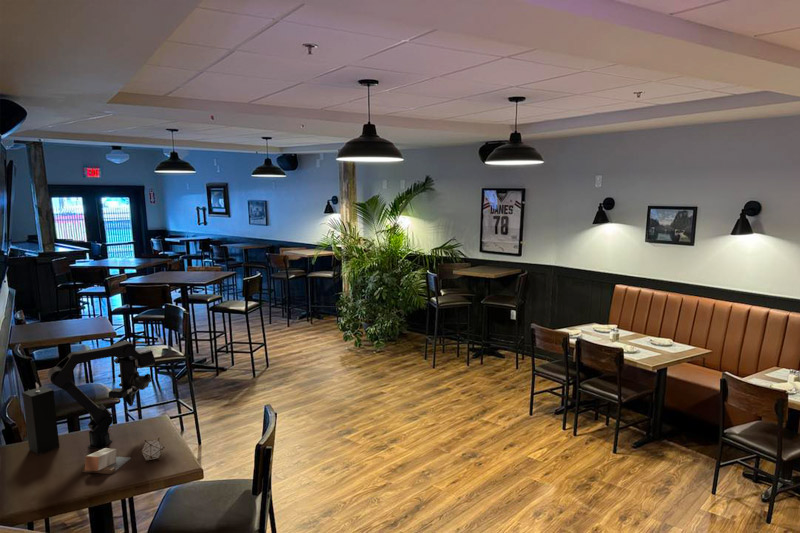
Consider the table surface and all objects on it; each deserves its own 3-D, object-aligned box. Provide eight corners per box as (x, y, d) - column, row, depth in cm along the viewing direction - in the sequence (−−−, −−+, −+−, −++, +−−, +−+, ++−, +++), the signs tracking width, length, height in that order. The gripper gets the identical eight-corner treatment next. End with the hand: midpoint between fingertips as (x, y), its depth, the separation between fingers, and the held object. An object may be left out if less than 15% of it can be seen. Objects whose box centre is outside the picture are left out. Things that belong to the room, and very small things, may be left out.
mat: (86, 468, 189) (86, 467, 189) (103, 456, 198) (102, 455, 198) (115, 471, 188) (115, 470, 188) (131, 458, 197) (130, 457, 197)
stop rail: (82, 471, 187) (81, 468, 187) (86, 468, 189) (85, 465, 189) (111, 474, 186) (111, 470, 186) (115, 471, 188) (114, 467, 188)
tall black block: (38, 455, 199) (30, 388, 195) (29, 450, 203) (21, 384, 199) (59, 447, 205) (52, 382, 201) (50, 442, 210) (43, 378, 205)
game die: (155, 470, 195) (151, 459, 188) (136, 460, 196) (132, 449, 189) (171, 450, 201) (167, 438, 195) (153, 441, 203) (149, 429, 196)
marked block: (85, 456, 184) (104, 448, 194) (84, 470, 184) (104, 461, 194) (98, 457, 184) (116, 448, 194) (97, 471, 183) (116, 462, 193)
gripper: (131, 379, 202) (134, 416, 204) (158, 364, 220) (161, 397, 222) (105, 378, 203) (109, 414, 206) (135, 363, 222) (138, 396, 224)
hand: (130, 405), depth 214 cm, fingers closed
